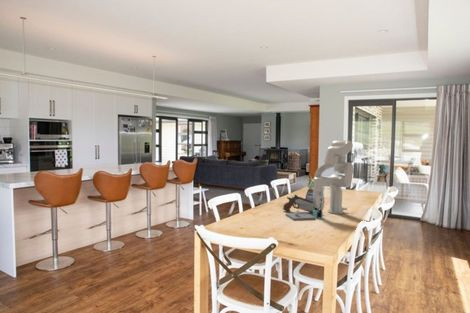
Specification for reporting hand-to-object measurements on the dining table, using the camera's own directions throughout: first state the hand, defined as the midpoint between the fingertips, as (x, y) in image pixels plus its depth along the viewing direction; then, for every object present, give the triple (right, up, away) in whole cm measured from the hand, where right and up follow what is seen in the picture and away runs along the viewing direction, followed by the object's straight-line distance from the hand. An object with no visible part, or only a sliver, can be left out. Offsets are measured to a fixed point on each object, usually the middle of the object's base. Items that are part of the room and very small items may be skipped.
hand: (317, 216), depth 258 cm
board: (-14, 0, -2) cm, 14 cm away
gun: (-10, 0, +16) cm, 19 cm away
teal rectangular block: (0, -1, 0) cm, 1 cm away
